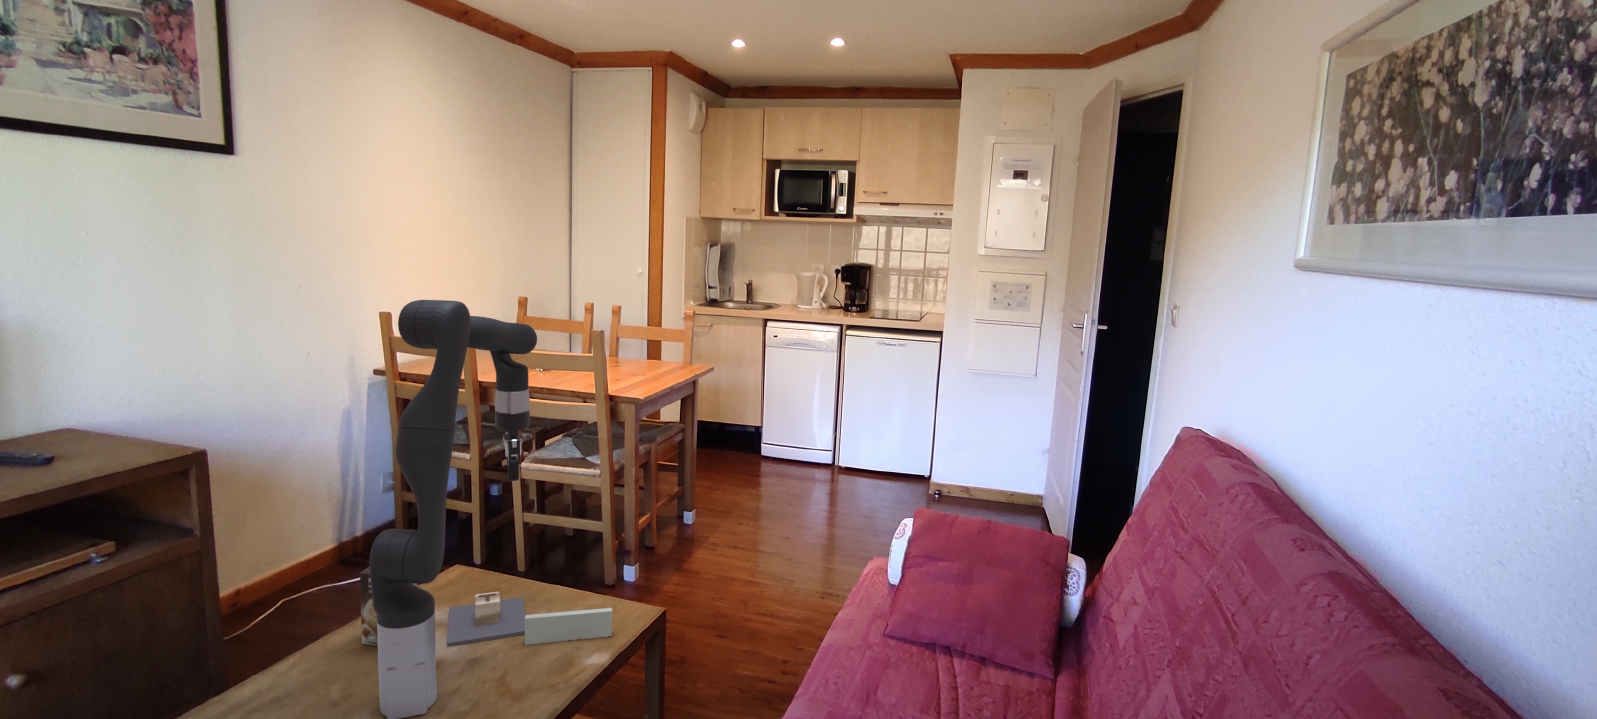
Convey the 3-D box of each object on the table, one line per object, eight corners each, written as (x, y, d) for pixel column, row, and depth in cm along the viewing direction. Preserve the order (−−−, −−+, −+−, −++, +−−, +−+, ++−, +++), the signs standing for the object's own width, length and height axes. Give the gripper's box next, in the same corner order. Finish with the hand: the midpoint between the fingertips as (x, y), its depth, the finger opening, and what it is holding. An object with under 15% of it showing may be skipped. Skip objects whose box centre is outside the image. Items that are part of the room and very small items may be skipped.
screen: (611, 636, 158) (612, 610, 157) (524, 644, 153) (524, 618, 152) (611, 632, 160) (612, 607, 159) (525, 641, 154) (525, 615, 153)
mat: (528, 633, 157) (528, 630, 157) (447, 646, 151) (447, 643, 150) (523, 600, 172) (523, 596, 172) (448, 610, 165) (448, 607, 165)
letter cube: (500, 622, 160) (500, 600, 159) (475, 625, 158) (475, 604, 157) (499, 611, 164) (499, 590, 163) (475, 615, 162) (475, 594, 161)
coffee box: (359, 644, 150) (357, 572, 147) (380, 629, 156) (378, 559, 153) (401, 649, 149) (399, 576, 146) (420, 633, 155) (418, 563, 153)
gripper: (494, 402, 172) (494, 467, 175) (496, 415, 160) (496, 485, 162) (527, 401, 175) (527, 464, 178) (532, 414, 163) (532, 482, 165)
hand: (512, 474), depth 170 cm, fingers open, 8 cm apart
